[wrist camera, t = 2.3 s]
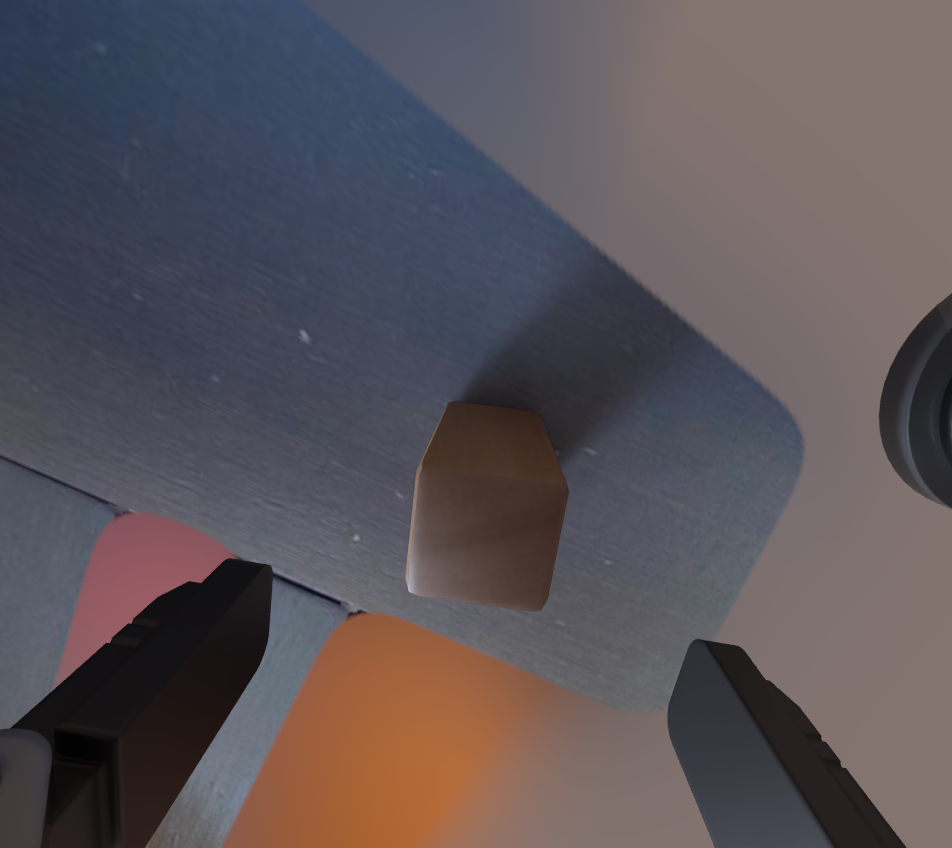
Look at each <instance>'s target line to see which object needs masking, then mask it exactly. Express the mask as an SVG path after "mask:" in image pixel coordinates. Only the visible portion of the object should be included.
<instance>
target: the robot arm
mask: <svg viewBox="0 0 952 848" xmlns="http://www.w3.org/2000/svg"><path fill="white" fill-rule="evenodd" d="M939 430H940V438H941V443H942V447H943V450H944V453H945V455H946V458H947V459H948V461H949V463H950V465H951V466H952V377H951V379H950V381H949V383H948V386H947V388H946V391H945V394H944V397H943V401H942V405H941V410H940V420H939ZM272 582H273V570H272V567H271V566H270V565H267V564H261V563H255V562H249V561H243V560H237V559H231V558H229V559H226V560H225V561H223V562H222V563H221V565H219V566H218V567H217V568H216V569H215V570H214V571H213V572H212V573H211V574H210V575H209V576H208V577H207V578H206V579H205V580H204V581H203V582H202V583H196V582H191V581H189V582H187V583H185V584H183V585H181V586H179V587H177V588H175V589H173V590H171V591H169V592H167V593H165V594H163V595H161V596H159V597H157V598H156V599H155V600H154V601H153V602H152V603H150V604H149V605H148V606H147V607H146V608H145V609H144V610H143V611H142V612H141V613H139V614H138V615H137V616H136V617H135V618H134V619H133V622H132V623H131V624H129V623H128V624H127V625H126V626H125V627H124V628H122V630H120V631H119V632H118V633H117V634H116V635H115V636H113V637H112V640H111V642H110V643H106V644H104V645H103V646H102V647H101V648H100V649H99V650H98V651H97V652H96V653H95V654H93V655H92V656H91V657H90V658H89V659H88V660H87V661H86V662H84V663H83V664H82V665H81V666H80V667H79V668H78V669H76V670H75V671H74V672H73V673H72V674H71V675H70V676H69V677H67V679H65V680H64V681H63V682H62V683H61V684H60V685H59V686H57V687H56V688H55V689H54V690H53V691H52V692H51V693H50V694H48V695H47V696H46V697H45V698H44V699H43V700H42V701H41V702H39V703H38V704H37V705H36V706H35V707H34V708H33V709H32V710H30V711H29V712H28V713H27V714H26V715H25V716H24V717H23V718H21V719H20V720H19V721H18V722H17V723H16V724H15V725H13V726H12V727H11V728H10V729H1V730H0V848H145V847H146V845H147V844H148V842H149V841H150V839H151V837H152V836H153V834H154V833H155V831H156V829H157V828H158V826H159V825H160V823H161V822H162V820H163V818H164V817H165V815H166V814H167V812H168V810H169V809H170V807H171V806H172V804H173V803H174V801H175V799H176V798H177V796H178V795H179V793H180V791H181V790H182V788H183V787H184V785H185V784H186V782H187V780H188V779H189V777H190V776H191V774H192V772H193V771H194V769H195V768H196V766H197V764H198V763H199V761H200V760H201V758H202V757H203V755H204V753H205V752H206V750H207V749H208V747H209V745H210V744H211V742H212V741H213V739H214V738H215V736H216V734H217V733H218V731H219V730H220V728H221V726H222V725H223V723H224V722H225V720H226V719H227V717H228V715H229V714H230V712H231V711H232V709H233V707H234V706H235V704H236V703H237V701H238V700H239V698H240V696H241V695H242V693H243V692H244V690H245V688H246V687H247V685H248V684H249V682H250V680H251V679H252V677H253V676H254V674H255V673H256V671H257V669H258V667H259V665H260V663H261V661H262V658H263V655H264V652H265V649H266V646H267V642H268V637H269V625H270V611H271V596H272ZM668 728H669V735H670V738H671V741H672V744H673V747H674V749H675V752H676V754H677V756H678V759H679V761H680V764H681V766H682V769H683V771H684V773H685V776H686V778H687V781H688V783H689V786H690V788H691V791H692V793H693V795H694V798H695V800H696V803H697V805H698V807H699V810H700V812H701V815H702V817H703V820H704V822H705V824H706V827H707V829H708V832H709V834H710V837H711V839H712V842H713V844H714V846H715V848H906V846H905V845H904V844H903V843H902V841H901V840H900V839H899V837H898V836H897V835H896V833H895V832H894V831H893V829H892V828H891V827H890V825H889V824H888V823H887V822H886V820H885V819H884V818H883V816H882V815H881V814H880V812H879V811H878V810H877V808H876V807H875V806H874V804H873V803H872V802H871V800H870V799H869V798H868V796H867V795H866V794H865V793H864V791H863V790H862V789H861V787H860V786H859V785H858V783H857V782H856V781H855V780H854V778H853V777H852V776H851V774H850V773H849V772H848V770H847V769H846V768H842V767H841V764H840V762H841V761H840V760H839V759H838V757H837V756H836V754H835V753H834V752H833V751H832V749H831V748H830V747H829V745H828V744H827V743H826V742H823V741H822V740H821V735H820V734H819V732H818V731H817V730H816V728H815V727H814V726H813V724H812V723H811V722H810V720H809V719H808V718H807V716H806V715H805V714H804V713H803V711H802V710H801V708H800V707H799V706H798V705H797V704H795V703H794V702H793V701H792V700H791V699H790V698H789V697H787V696H786V695H785V694H784V693H783V692H782V691H781V690H779V689H778V688H777V687H776V686H775V685H774V684H773V683H771V682H770V681H768V680H765V678H764V677H763V676H762V674H761V673H760V672H759V670H758V669H757V667H756V666H755V665H754V663H753V662H752V660H751V659H750V658H749V656H748V655H747V654H746V652H745V651H744V650H743V649H742V648H741V647H739V646H735V645H730V644H724V643H718V642H712V641H706V640H700V639H696V640H694V641H693V642H692V643H691V644H690V646H689V648H688V650H687V653H686V656H685V659H684V662H683V665H682V668H681V671H680V673H679V676H678V679H677V682H676V685H675V688H674V691H673V693H672V696H671V699H670V702H669V707H668Z"/></svg>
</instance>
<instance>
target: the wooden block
mask: <svg viewBox="0 0 952 848" xmlns="http://www.w3.org/2000/svg"><path fill="white" fill-rule="evenodd" d="M568 494H569V491H568V487H567V483H566V480H565V477H564V475H563V472H562V470H561V467H560V465H559V462H558V459H557V457H556V454H555V452H554V449H553V447H552V444H551V442H550V439H549V437H548V434H547V432H546V429H545V427H544V424H543V422H542V419H541V416H540V415H539V414H537V413H535V412H533V411H525V410H518V409H511V408H504V407H496V406H489V405H482V404H474V403H467V402H460V401H454V402H450V403H448V405H447V406H446V408H445V410H444V412H443V414H442V417H441V419H440V421H439V423H438V425H437V428H436V430H435V432H434V434H433V436H432V439H431V441H430V443H429V445H428V447H427V450H426V452H425V454H424V456H423V458H422V460H421V463H420V465H419V467H418V469H417V471H416V481H415V490H414V500H413V510H412V519H411V529H410V538H409V548H408V557H407V567H406V577H405V579H406V582H407V585H408V589H409V592H411V593H413V594H415V595H417V596H424V597H431V598H439V599H446V600H453V601H460V602H468V603H475V604H482V605H489V606H496V607H504V608H511V609H518V610H525V611H532V612H533V611H538V610H541V609H542V608H543V606H544V604H545V603H546V601H547V599H548V595H549V590H550V585H551V580H552V575H553V570H554V565H555V560H556V555H557V549H558V544H559V539H560V534H561V529H562V524H563V519H564V514H565V509H566V504H567V499H568Z"/></svg>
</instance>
